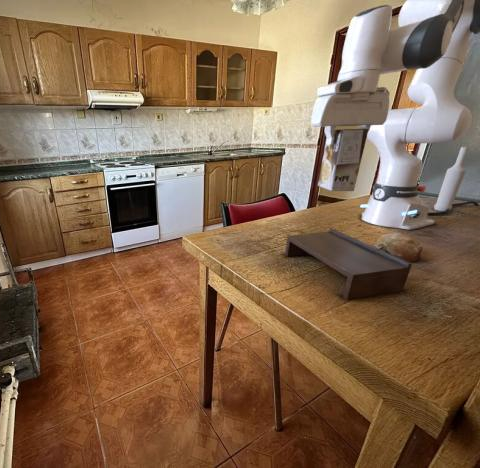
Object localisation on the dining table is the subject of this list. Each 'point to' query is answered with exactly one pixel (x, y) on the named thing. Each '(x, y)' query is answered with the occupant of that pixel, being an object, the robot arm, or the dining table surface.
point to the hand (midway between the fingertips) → (344, 144)
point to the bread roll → (400, 246)
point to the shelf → (353, 262)
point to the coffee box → (342, 160)
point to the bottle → (451, 183)
